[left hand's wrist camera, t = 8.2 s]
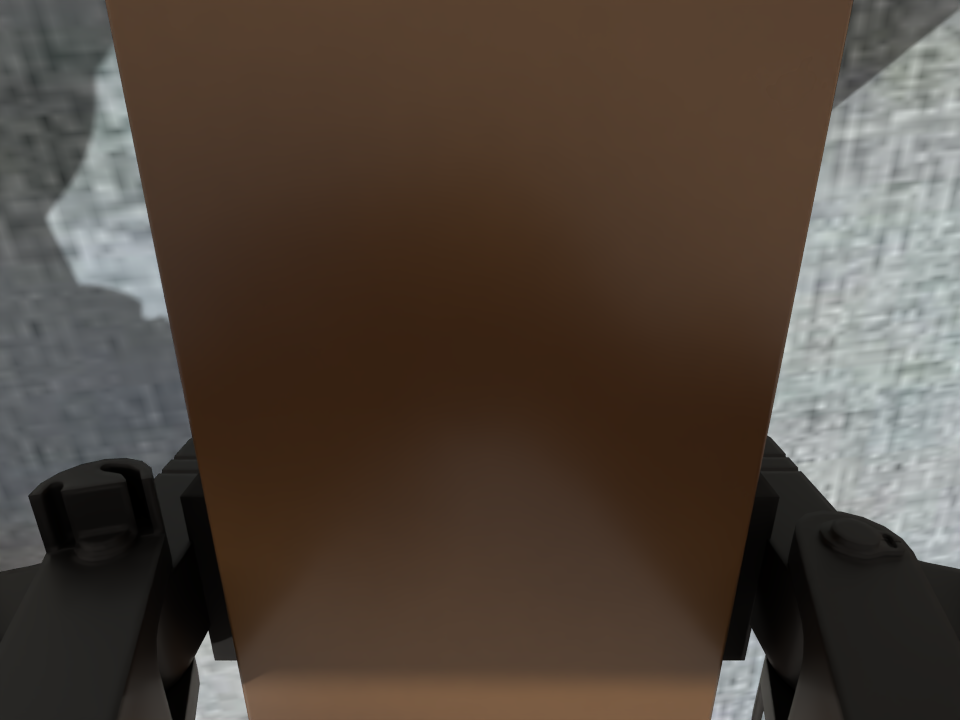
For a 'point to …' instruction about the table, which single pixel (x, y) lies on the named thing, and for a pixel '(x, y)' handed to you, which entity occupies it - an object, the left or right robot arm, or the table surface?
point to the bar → (479, 331)
